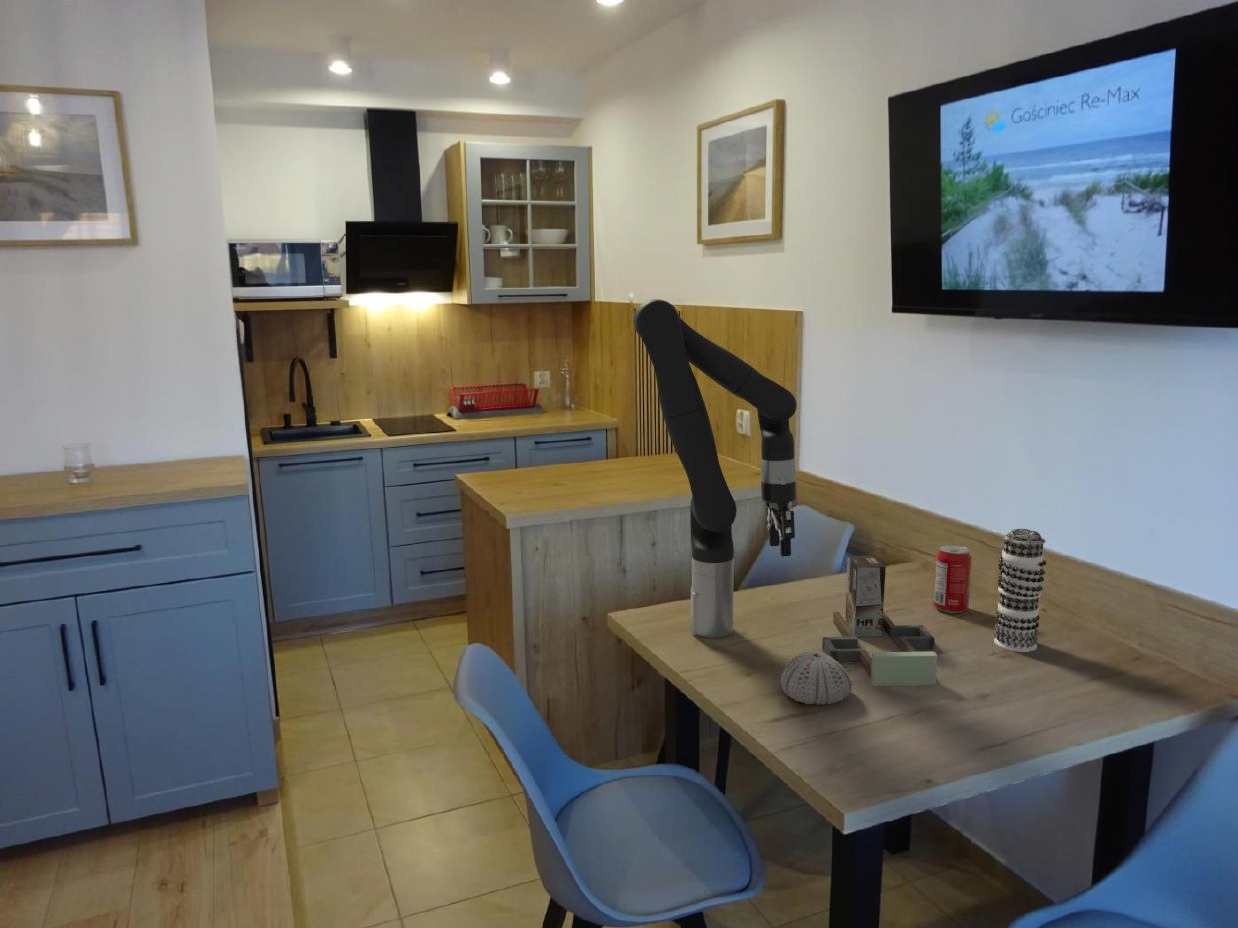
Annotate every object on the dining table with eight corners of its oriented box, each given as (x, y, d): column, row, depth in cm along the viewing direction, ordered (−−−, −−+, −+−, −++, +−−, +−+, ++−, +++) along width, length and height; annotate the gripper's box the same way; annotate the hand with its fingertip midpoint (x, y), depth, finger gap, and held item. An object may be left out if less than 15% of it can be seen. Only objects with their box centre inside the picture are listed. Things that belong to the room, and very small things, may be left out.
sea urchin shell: (766, 696, 167) (767, 657, 165) (801, 673, 177) (802, 635, 175) (830, 718, 158) (831, 676, 157) (863, 692, 168) (865, 652, 167)
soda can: (928, 611, 209) (932, 550, 206) (938, 601, 215) (941, 542, 212) (963, 617, 204) (967, 555, 202) (971, 607, 211) (976, 547, 208)
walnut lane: (874, 684, 171) (875, 672, 170) (833, 621, 203) (833, 611, 202) (933, 683, 171) (934, 671, 171) (882, 621, 203) (883, 610, 202)
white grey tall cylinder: (1017, 633, 195) (1026, 524, 190) (1048, 649, 186) (1059, 535, 181) (982, 638, 192) (990, 528, 187) (1013, 655, 184) (1022, 539, 179)
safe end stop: (873, 685, 170) (875, 656, 169) (870, 681, 172) (872, 652, 171) (935, 684, 171) (937, 655, 169) (932, 680, 172) (933, 651, 171)
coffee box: (883, 637, 194) (886, 566, 191) (853, 637, 194) (856, 567, 191) (872, 621, 203) (875, 554, 200) (844, 621, 203) (847, 554, 200)
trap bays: (830, 662, 181) (831, 651, 180) (815, 637, 194) (816, 626, 194) (944, 661, 181) (945, 649, 181) (921, 635, 194) (922, 625, 194)
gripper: (753, 474, 199) (755, 544, 202) (770, 486, 185) (772, 560, 188) (785, 472, 200) (786, 541, 202) (805, 483, 186) (806, 558, 188)
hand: (780, 550), depth 195 cm, fingers open, 8 cm apart
